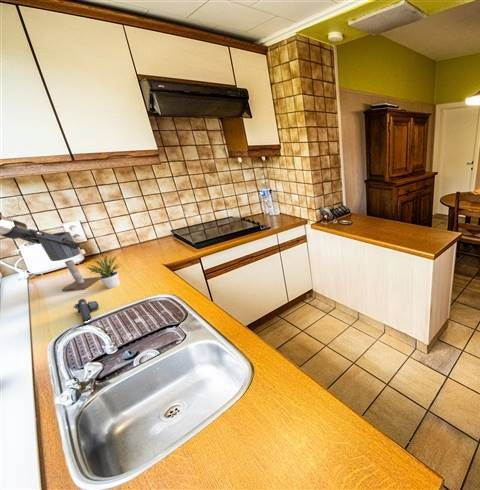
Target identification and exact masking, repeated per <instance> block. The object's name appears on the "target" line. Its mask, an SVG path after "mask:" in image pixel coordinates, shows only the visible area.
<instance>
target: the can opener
mask: <svg viewBox="0 0 480 490" xmlns="http://www.w3.org/2000/svg"><path fill="white" fill-rule="evenodd" d="M72 306H73V309H75V310H77V313H78V314H80V316H81V320H82V323H83V322H85V321H88V320H90V319H91V320H92V316H91V312H94V311H96V310H98V309H99V303H98V302H97V301H96V300H92V301H88V302H87V300H86V299H85V298H80V299H79V300H78V302H77V303H76V304H74V305H72Z"/></svg>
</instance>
